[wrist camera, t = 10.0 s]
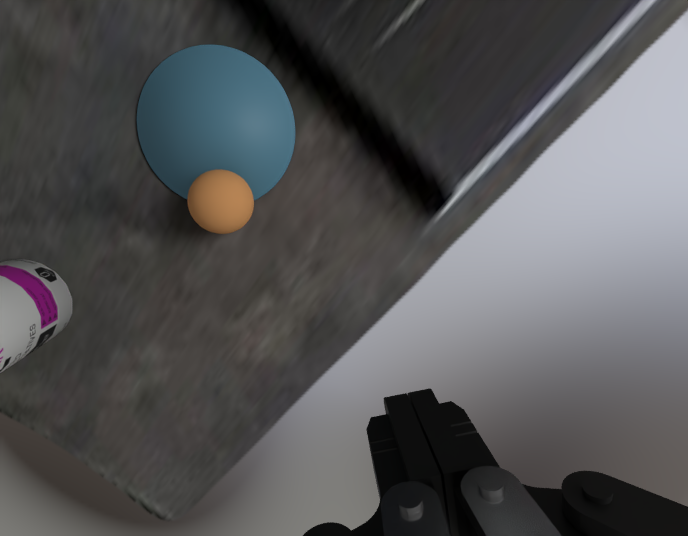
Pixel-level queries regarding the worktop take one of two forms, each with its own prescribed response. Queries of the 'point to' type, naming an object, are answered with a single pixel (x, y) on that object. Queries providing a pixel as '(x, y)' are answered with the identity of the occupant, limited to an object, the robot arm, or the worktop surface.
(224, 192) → the ball
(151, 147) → the disc
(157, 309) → the worktop surface
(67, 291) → the supplement can
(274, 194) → the worktop surface
